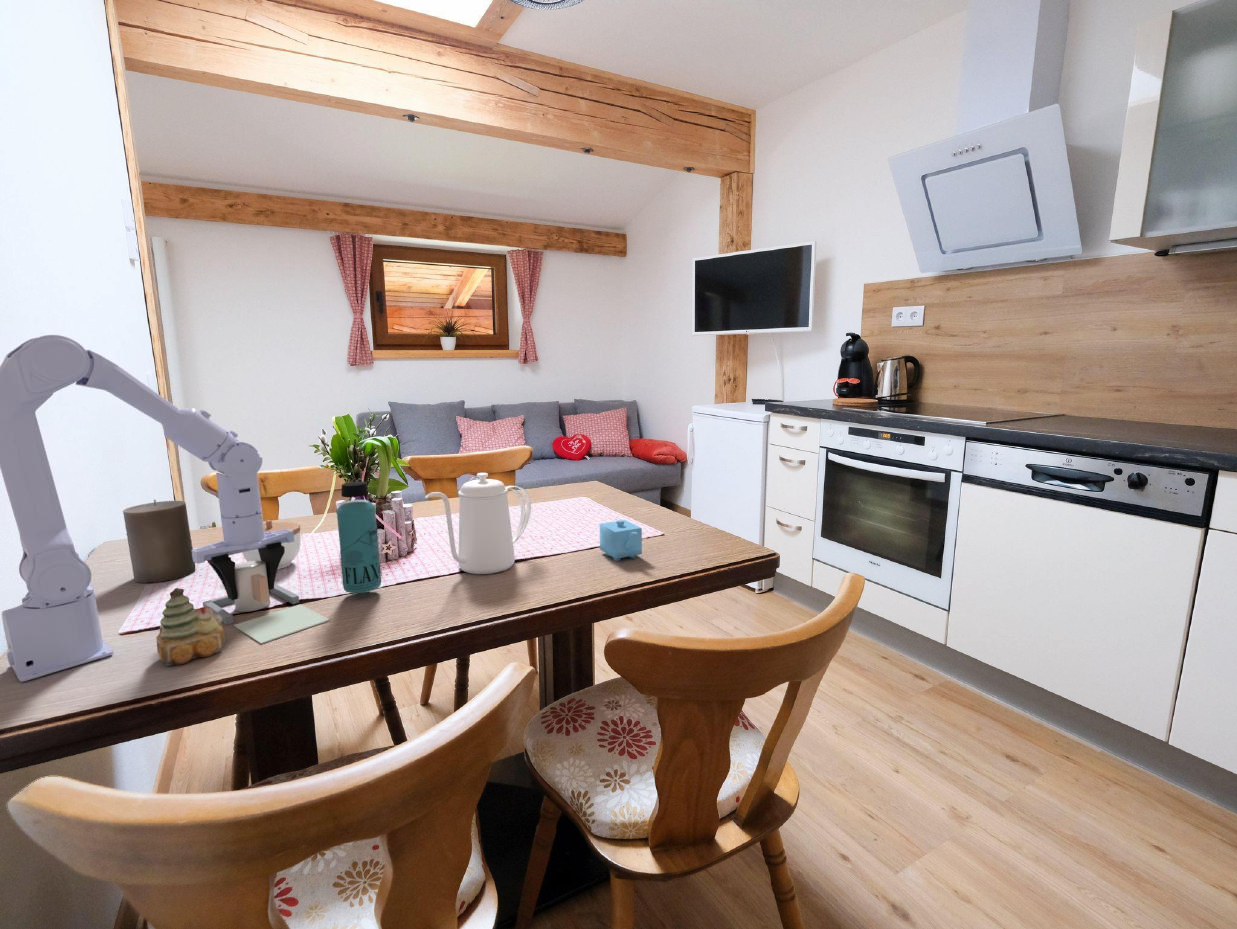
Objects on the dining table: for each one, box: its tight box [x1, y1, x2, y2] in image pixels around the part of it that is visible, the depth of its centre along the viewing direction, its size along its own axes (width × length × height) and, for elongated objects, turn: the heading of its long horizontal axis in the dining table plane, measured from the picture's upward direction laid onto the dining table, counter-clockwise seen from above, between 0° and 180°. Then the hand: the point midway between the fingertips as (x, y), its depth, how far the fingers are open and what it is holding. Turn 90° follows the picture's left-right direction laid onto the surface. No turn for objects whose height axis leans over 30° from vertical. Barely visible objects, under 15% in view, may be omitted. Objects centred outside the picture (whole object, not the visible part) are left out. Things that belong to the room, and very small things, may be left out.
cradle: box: [202, 583, 300, 626], centre depth 101 cm, size 11×10×1 cm
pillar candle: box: [122, 499, 196, 584], centre depth 116 cm, size 10×10×15 cm
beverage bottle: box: [335, 481, 383, 594], centre depth 104 cm, size 6×7×20 cm
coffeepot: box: [424, 472, 532, 575], centre depth 117 cm, size 11×25×19 cm, turn 143°
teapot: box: [599, 519, 643, 562], centre depth 123 cm, size 12×6×8 cm, turn 27°
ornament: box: [156, 587, 226, 667], centre depth 84 cm, size 8×6×10 cm
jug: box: [234, 561, 271, 613], centre depth 99 cm, size 8×5×7 cm, turn 52°
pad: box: [233, 603, 330, 645], centre depth 94 cm, size 10×10×1 cm
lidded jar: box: [242, 519, 302, 570], centre depth 120 cm, size 11×11×9 cm
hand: (251, 593), depth 101 cm, fingers closed on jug, 5 cm apart
